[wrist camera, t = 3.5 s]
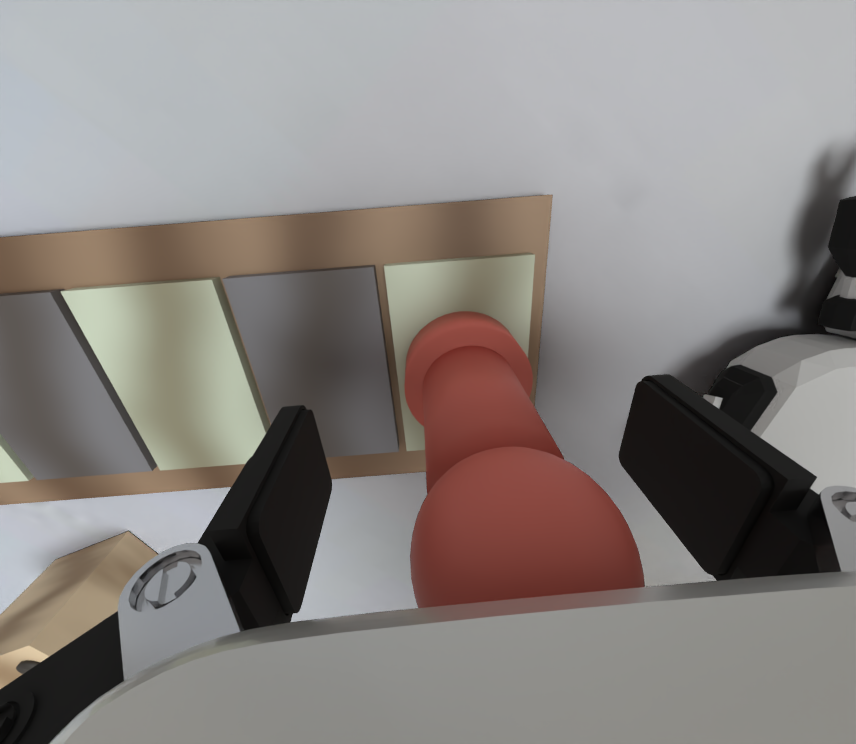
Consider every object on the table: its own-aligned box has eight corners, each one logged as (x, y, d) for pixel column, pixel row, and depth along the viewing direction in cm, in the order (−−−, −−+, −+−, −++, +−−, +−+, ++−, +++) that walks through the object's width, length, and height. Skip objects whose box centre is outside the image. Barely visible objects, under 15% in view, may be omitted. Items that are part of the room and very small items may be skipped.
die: (128, 531, 21) (25, 649, 15) (196, 584, 23) (129, 702, 18) (55, 559, 22) (-67, 681, 16) (128, 608, 24) (44, 727, 19)
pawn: (521, 306, 14) (799, 578, 4) (515, 409, 16) (682, 749, 6) (399, 316, 14) (362, 612, 4) (410, 417, 16) (405, 770, 6)
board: (545, 195, 13) (558, 194, 12) (525, 453, 19) (532, 471, 18) (-269, 258, 13) (-340, 263, 12) (-40, 497, 19) (-72, 518, 18)
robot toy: (797, 136, 14) (626, 443, 19) (968, 95, 9) (687, 503, 15) (1017, 219, 15) (803, 479, 21) (1245, 215, 11) (903, 542, 17)
